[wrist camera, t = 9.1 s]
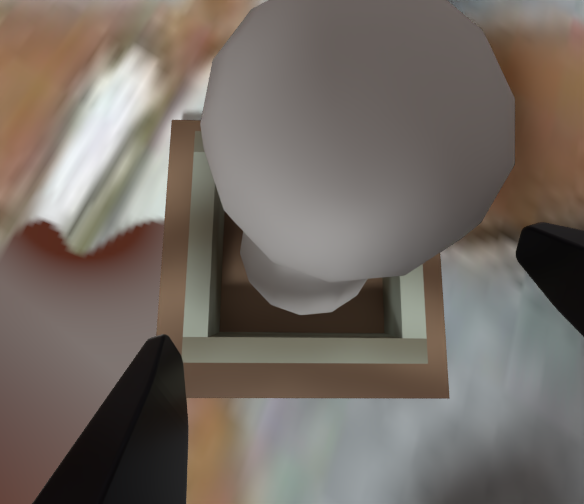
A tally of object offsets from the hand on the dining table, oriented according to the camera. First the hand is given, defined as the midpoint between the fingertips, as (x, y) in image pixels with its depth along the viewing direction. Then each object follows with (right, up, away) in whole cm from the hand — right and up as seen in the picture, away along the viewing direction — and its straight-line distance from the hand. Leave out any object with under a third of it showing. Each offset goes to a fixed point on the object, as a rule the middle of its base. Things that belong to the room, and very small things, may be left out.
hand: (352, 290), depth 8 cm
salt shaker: (-1, +1, +9) cm, 9 cm away
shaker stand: (-1, +1, +10) cm, 10 cm away
